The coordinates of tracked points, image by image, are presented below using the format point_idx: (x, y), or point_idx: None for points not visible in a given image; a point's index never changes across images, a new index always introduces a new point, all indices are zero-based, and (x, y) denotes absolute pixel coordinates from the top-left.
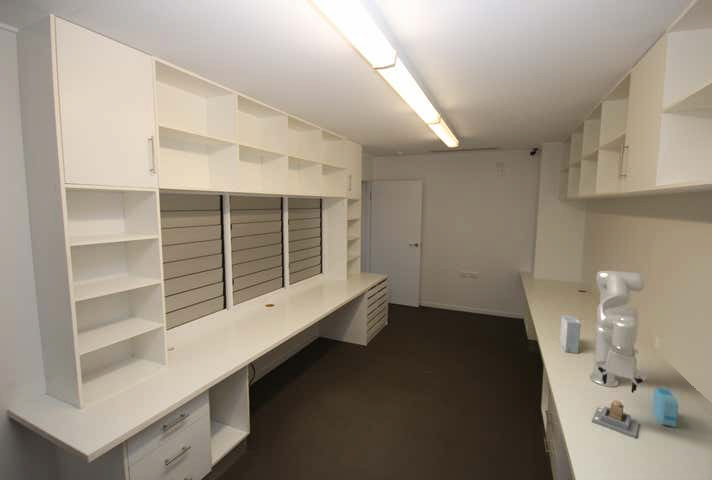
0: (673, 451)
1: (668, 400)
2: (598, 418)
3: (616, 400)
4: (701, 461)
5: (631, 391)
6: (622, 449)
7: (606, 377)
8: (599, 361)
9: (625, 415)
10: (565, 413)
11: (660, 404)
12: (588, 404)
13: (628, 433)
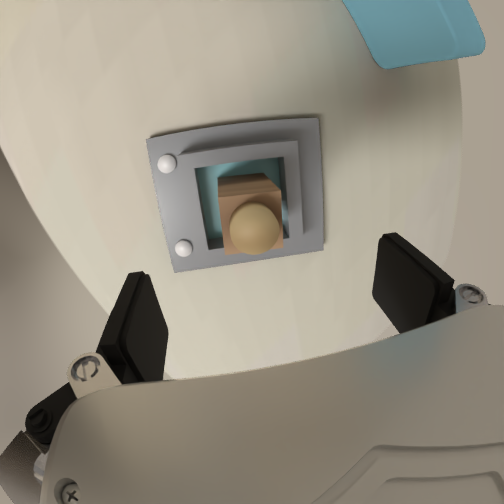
0: (408, 225)
1: (465, 48)
2: (187, 247)
3: (244, 213)
4: (450, 217)
5: (376, 300)
6: (295, 333)
7: (151, 358)
8: (13, 501)
9: (275, 157)
10: (96, 287)
11: (403, 17)
12: (108, 132)
13: (300, 253)
